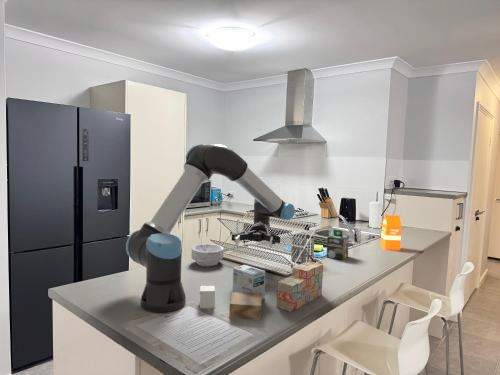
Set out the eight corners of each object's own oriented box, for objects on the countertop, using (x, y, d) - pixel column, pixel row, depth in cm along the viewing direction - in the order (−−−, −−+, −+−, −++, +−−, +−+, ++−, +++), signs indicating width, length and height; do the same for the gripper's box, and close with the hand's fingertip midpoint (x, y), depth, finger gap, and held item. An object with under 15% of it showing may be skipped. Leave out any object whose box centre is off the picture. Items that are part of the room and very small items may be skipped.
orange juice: (400, 250, 211) (402, 216, 209) (385, 249, 211) (387, 216, 209) (394, 246, 218) (397, 214, 217) (380, 246, 219) (382, 214, 217)
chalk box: (348, 256, 193) (349, 229, 192) (342, 260, 185) (344, 232, 184) (331, 253, 198) (333, 227, 196) (325, 257, 190) (327, 229, 189)
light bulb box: (265, 299, 131) (266, 270, 130) (252, 304, 126) (253, 274, 125) (244, 291, 138) (245, 263, 137) (231, 295, 133) (232, 267, 132)
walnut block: (229, 319, 115) (229, 303, 114) (232, 306, 125) (233, 292, 124) (260, 320, 114) (260, 305, 114) (261, 307, 124) (261, 293, 123)
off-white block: (199, 308, 121) (200, 291, 121) (199, 302, 126) (200, 285, 126) (214, 308, 122) (215, 291, 121) (214, 302, 127) (214, 285, 126)
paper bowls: (215, 270, 162) (215, 253, 162) (185, 266, 167) (185, 249, 166) (227, 261, 177) (228, 245, 176) (200, 257, 182) (200, 242, 181)
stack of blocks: (291, 312, 120) (293, 277, 119) (276, 307, 124) (277, 272, 123) (321, 295, 137) (323, 263, 136) (307, 290, 141) (309, 260, 140)
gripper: (232, 222, 163) (222, 232, 142) (287, 225, 159) (285, 235, 138) (231, 238, 163) (221, 250, 142) (286, 241, 160) (284, 254, 139)
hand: (253, 243), depth 140 cm, fingers open, 13 cm apart
